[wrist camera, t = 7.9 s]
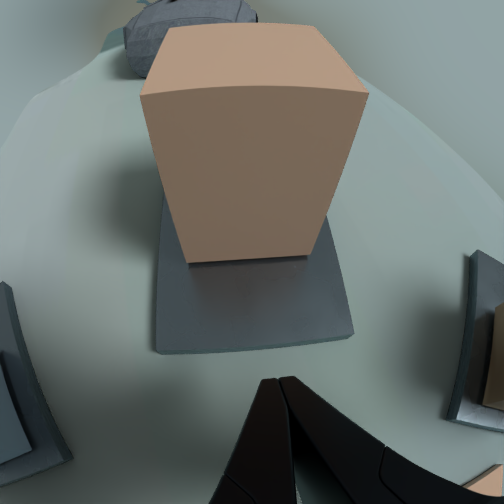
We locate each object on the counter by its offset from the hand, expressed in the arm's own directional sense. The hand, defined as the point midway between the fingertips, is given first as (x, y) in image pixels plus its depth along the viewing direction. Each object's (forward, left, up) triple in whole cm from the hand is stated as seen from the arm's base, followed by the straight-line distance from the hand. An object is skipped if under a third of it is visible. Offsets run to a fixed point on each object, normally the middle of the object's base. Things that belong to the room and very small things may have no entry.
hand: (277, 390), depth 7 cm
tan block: (+7, +7, -5) cm, 11 cm away
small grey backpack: (+24, +29, -7) cm, 38 cm away
